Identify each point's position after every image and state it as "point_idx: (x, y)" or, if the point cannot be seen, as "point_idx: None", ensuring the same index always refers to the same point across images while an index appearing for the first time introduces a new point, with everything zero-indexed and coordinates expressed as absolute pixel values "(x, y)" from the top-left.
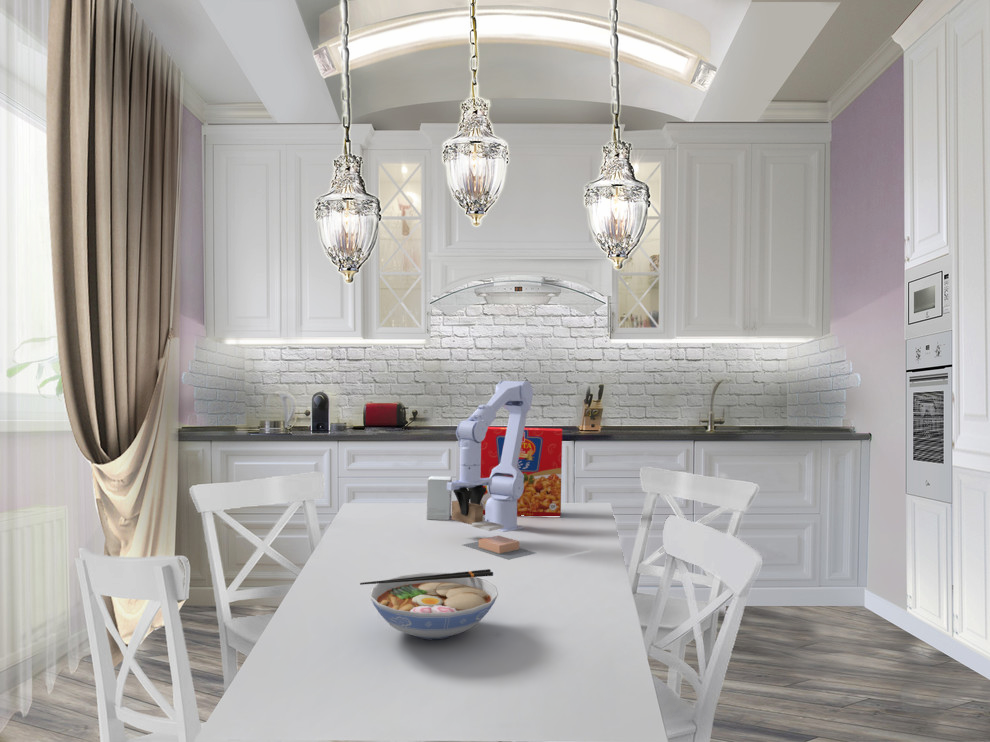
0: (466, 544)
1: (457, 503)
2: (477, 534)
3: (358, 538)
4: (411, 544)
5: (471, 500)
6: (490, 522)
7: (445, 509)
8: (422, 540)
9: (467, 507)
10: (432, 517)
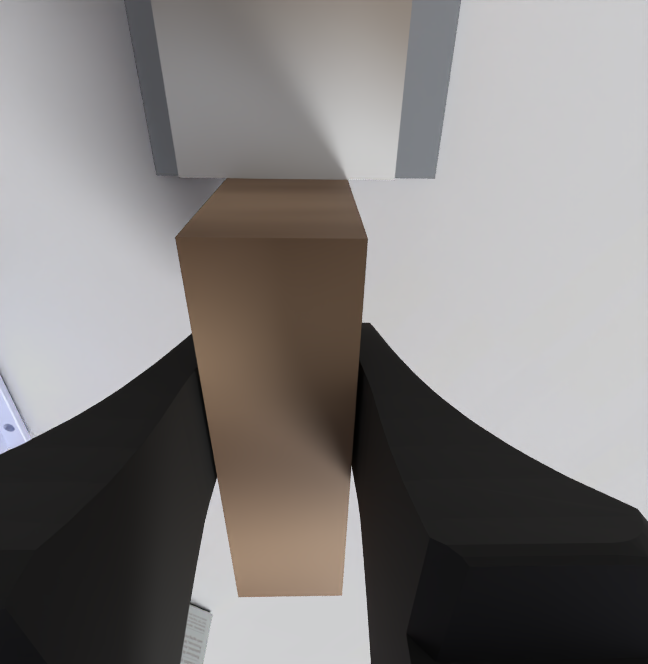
0: (403, 163)
1: (345, 532)
2: (147, 345)
3: None
4: (583, 385)
5: (201, 500)
6: (181, 54)
7: None
8: (481, 410)
9: (386, 360)
10: (190, 614)
